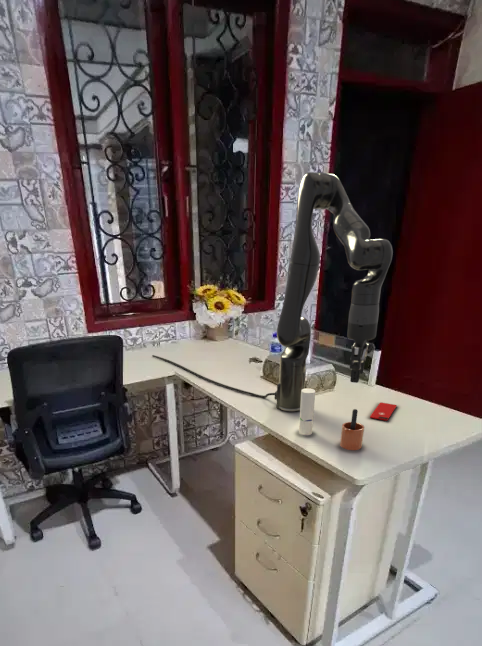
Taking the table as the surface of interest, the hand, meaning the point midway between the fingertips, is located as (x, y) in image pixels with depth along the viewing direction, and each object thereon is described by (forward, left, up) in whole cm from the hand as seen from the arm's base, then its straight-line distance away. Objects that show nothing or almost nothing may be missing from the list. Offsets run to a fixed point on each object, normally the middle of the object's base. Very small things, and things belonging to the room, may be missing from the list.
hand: (356, 377), depth 120 cm
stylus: (+1, -2, -21) cm, 21 cm away
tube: (-14, +2, -22) cm, 26 cm away
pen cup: (+1, -2, -21) cm, 22 cm away
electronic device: (+7, +29, -21) cm, 36 cm away
